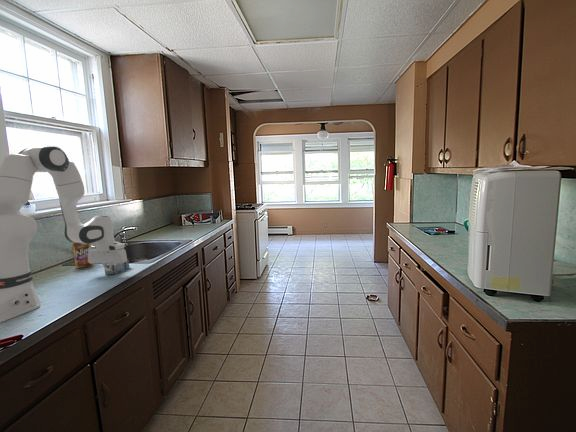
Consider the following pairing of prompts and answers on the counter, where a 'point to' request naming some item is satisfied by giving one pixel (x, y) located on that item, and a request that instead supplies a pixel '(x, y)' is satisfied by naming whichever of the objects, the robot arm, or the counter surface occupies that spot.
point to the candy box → (81, 255)
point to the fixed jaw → (127, 264)
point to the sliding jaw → (114, 268)
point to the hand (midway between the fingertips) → (108, 271)
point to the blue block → (122, 266)
